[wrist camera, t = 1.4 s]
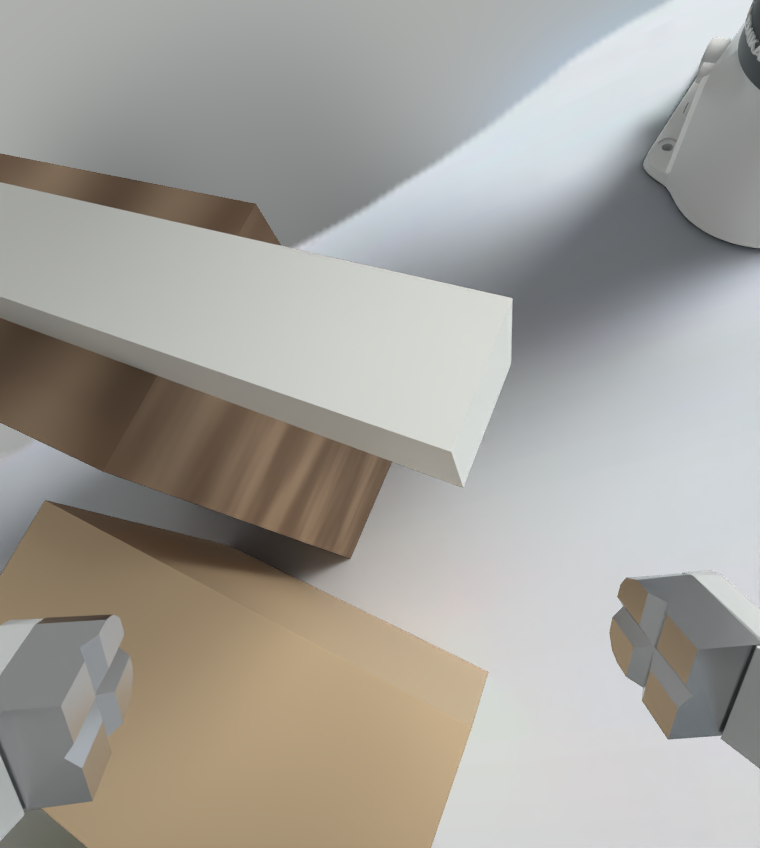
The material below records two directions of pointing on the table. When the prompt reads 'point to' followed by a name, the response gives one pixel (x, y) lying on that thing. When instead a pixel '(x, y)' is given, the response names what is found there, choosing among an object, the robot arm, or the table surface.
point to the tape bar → (264, 326)
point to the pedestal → (178, 399)
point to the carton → (247, 696)
